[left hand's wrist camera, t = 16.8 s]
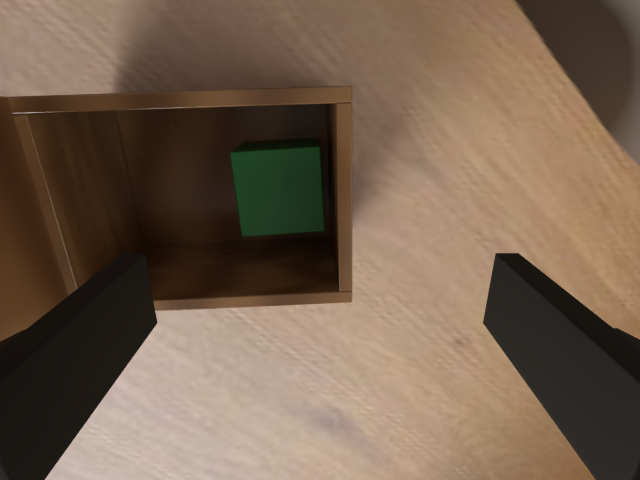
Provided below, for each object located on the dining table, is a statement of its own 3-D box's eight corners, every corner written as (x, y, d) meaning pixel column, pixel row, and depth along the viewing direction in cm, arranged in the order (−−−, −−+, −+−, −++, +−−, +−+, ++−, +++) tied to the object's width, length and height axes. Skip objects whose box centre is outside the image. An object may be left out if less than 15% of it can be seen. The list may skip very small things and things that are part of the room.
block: (317, 137, 28) (320, 146, 23) (321, 208, 30) (325, 231, 25) (243, 141, 28) (229, 152, 23) (252, 213, 30) (241, 237, 24)
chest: (336, 89, 27) (352, 85, 18) (338, 242, 32) (352, 302, 22) (107, 96, 27) (3, 97, 18) (141, 250, 31) (71, 315, 22)
